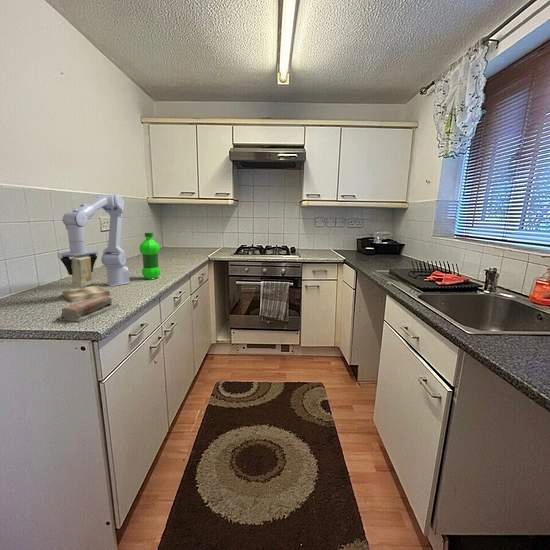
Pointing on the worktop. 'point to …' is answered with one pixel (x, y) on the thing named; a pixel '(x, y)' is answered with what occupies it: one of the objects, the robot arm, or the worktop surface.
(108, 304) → the brown rectangular block
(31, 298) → the worktop surface
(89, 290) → the wooden base
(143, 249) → the plastic bottle
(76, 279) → the skincare box
